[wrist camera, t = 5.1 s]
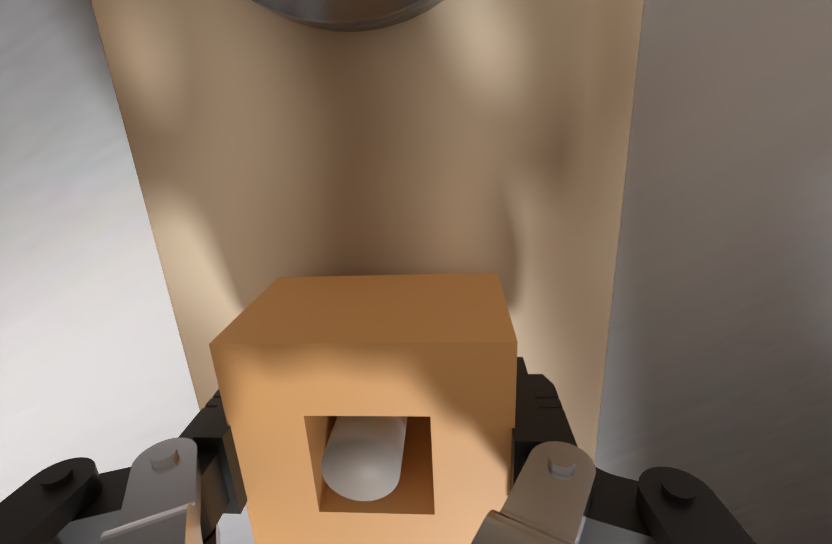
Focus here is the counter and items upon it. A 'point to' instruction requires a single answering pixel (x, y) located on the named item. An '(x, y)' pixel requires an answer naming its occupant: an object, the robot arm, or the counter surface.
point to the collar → (372, 402)
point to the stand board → (386, 171)
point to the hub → (348, 12)
